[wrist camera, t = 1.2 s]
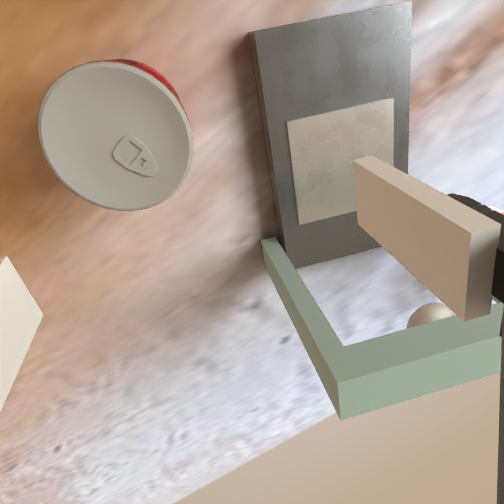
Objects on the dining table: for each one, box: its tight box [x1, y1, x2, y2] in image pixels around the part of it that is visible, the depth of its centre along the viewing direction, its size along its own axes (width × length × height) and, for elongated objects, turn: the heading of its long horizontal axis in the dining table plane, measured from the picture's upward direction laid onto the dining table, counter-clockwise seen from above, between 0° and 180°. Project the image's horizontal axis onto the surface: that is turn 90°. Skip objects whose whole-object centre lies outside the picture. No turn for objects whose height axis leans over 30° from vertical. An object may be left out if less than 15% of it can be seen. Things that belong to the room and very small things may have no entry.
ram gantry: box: [261, 237, 504, 420], centre depth 30 cm, size 3×16×18 cm, turn 101°
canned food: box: [38, 59, 193, 211], centre depth 25 cm, size 8×8×11 cm
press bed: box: [249, 1, 412, 269], centre depth 34 cm, size 20×12×2 cm, turn 11°
